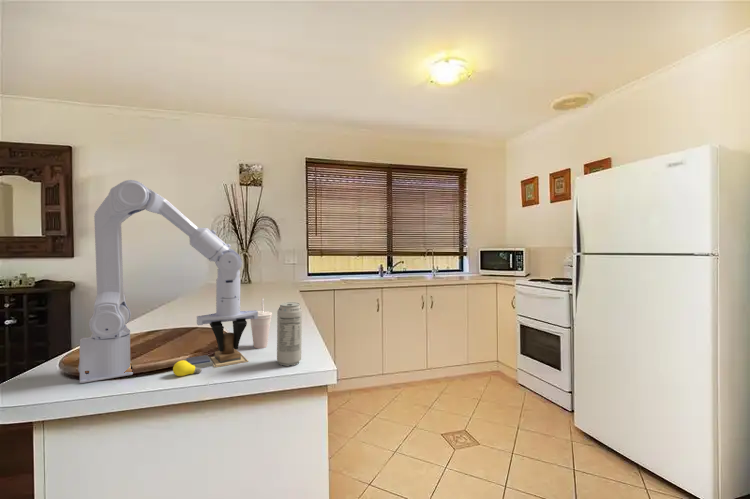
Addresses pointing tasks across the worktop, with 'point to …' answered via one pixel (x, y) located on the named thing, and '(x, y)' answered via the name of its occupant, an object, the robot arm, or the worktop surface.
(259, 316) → the smoothie
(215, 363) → the card sheet
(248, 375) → the worktop surface
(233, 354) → the stamp
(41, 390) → the worktop surface
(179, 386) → the worktop surface
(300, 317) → the energy drink can
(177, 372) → the light bulb
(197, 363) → the ink pad
